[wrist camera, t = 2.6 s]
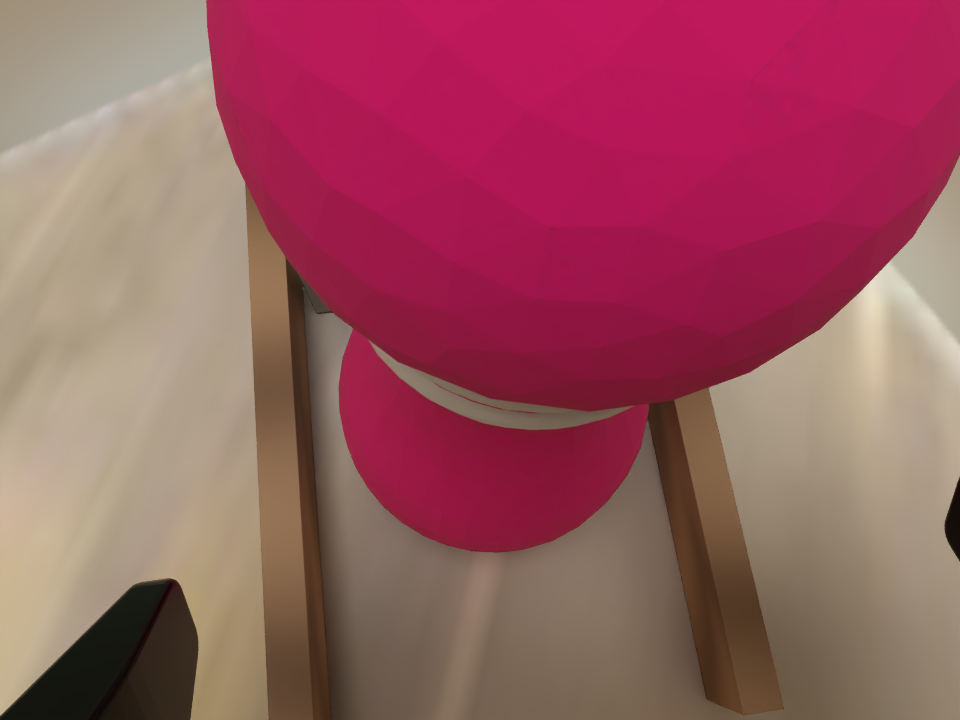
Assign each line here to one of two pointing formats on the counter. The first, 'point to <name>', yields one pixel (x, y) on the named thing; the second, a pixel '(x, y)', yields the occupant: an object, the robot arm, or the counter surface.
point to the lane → (295, 538)
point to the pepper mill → (573, 214)
